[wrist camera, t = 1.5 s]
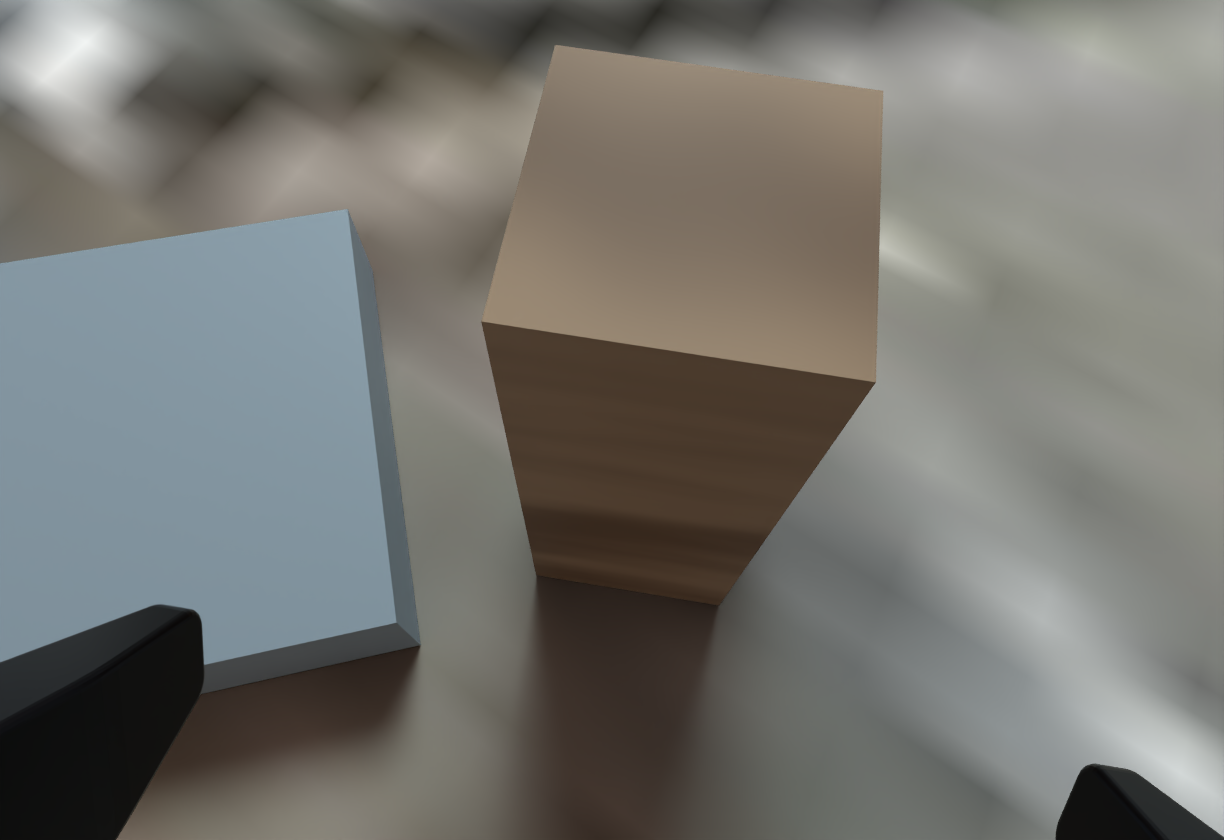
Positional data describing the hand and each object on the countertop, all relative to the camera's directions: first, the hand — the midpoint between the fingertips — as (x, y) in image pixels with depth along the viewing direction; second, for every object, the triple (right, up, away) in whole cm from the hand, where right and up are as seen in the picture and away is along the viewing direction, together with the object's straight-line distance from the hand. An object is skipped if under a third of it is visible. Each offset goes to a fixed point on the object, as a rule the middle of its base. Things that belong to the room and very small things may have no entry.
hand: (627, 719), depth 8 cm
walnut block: (+1, +1, +15) cm, 15 cm away
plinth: (-12, +1, +15) cm, 19 cm away
